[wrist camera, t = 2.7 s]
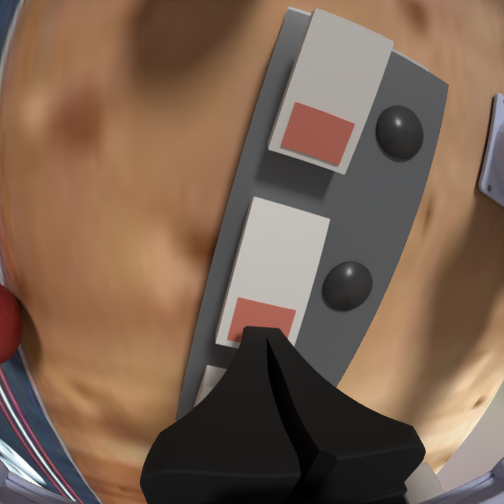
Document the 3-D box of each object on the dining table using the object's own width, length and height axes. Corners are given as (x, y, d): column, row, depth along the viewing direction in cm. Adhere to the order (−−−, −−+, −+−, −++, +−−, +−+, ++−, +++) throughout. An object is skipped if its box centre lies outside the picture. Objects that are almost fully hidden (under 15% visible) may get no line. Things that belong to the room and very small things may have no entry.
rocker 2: (383, 44, 9) (394, 41, 8) (337, 166, 12) (345, 175, 11) (311, 14, 9) (316, 7, 8) (267, 142, 12) (268, 150, 11)
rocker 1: (271, 377, 14) (271, 399, 13) (240, 423, 17) (239, 440, 16) (206, 364, 13) (203, 386, 12) (191, 414, 17) (188, 431, 16)
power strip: (424, 71, 14) (459, 59, 10) (289, 422, 22) (296, 457, 18) (287, 10, 13) (298, -21, 9) (178, 403, 20) (171, 439, 17)
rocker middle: (320, 220, 13) (330, 219, 12) (284, 348, 13) (290, 358, 12) (250, 199, 13) (254, 196, 11) (215, 333, 13) (215, 344, 12)
